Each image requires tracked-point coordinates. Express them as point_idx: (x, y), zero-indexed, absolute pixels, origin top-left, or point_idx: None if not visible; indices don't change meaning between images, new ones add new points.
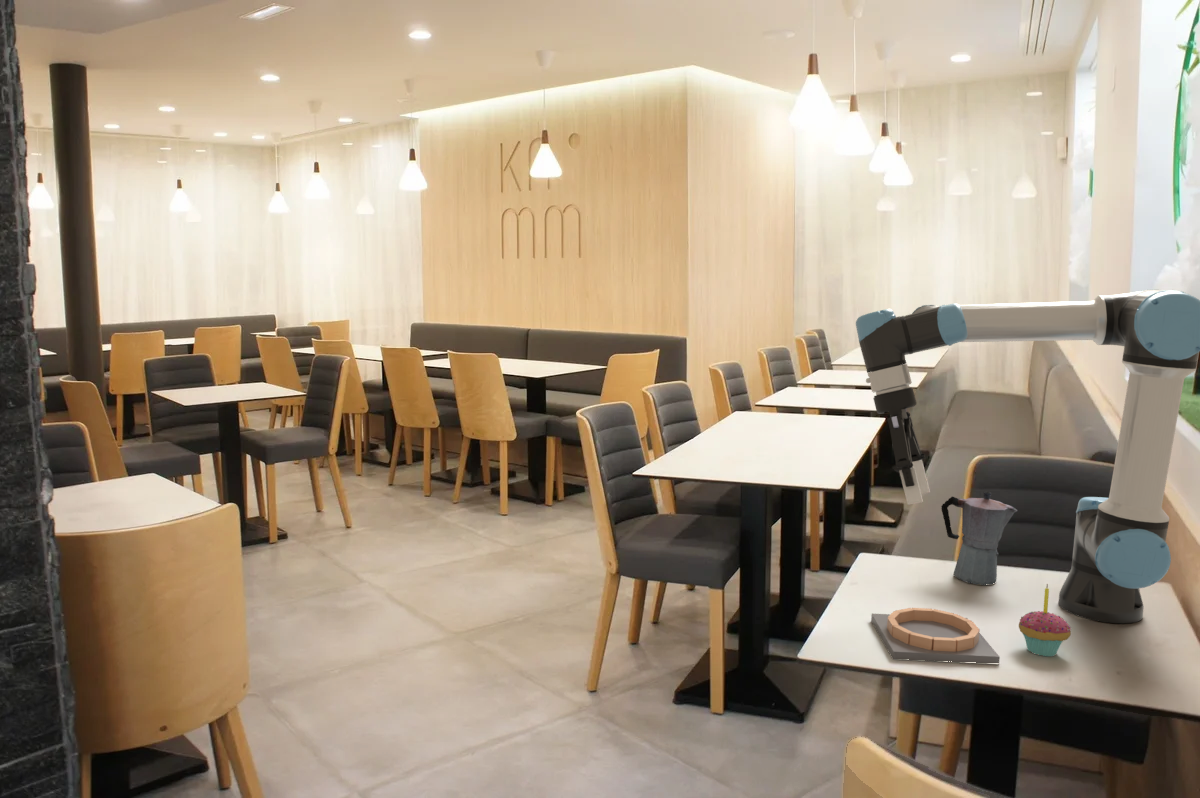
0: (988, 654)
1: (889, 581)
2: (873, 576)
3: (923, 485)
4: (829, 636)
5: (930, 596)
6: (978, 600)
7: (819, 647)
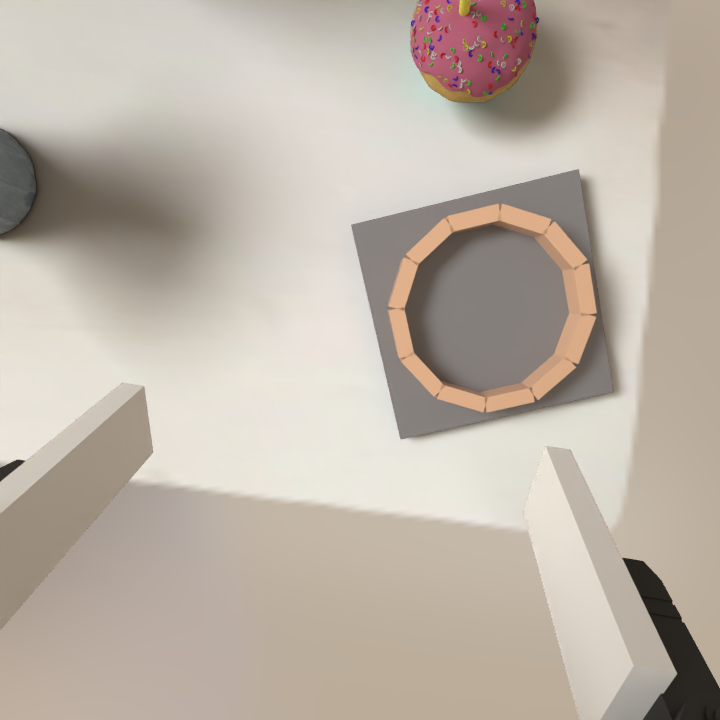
0: (572, 193)
1: None
2: None
3: (119, 434)
4: (516, 510)
5: (178, 302)
6: (157, 185)
7: None
